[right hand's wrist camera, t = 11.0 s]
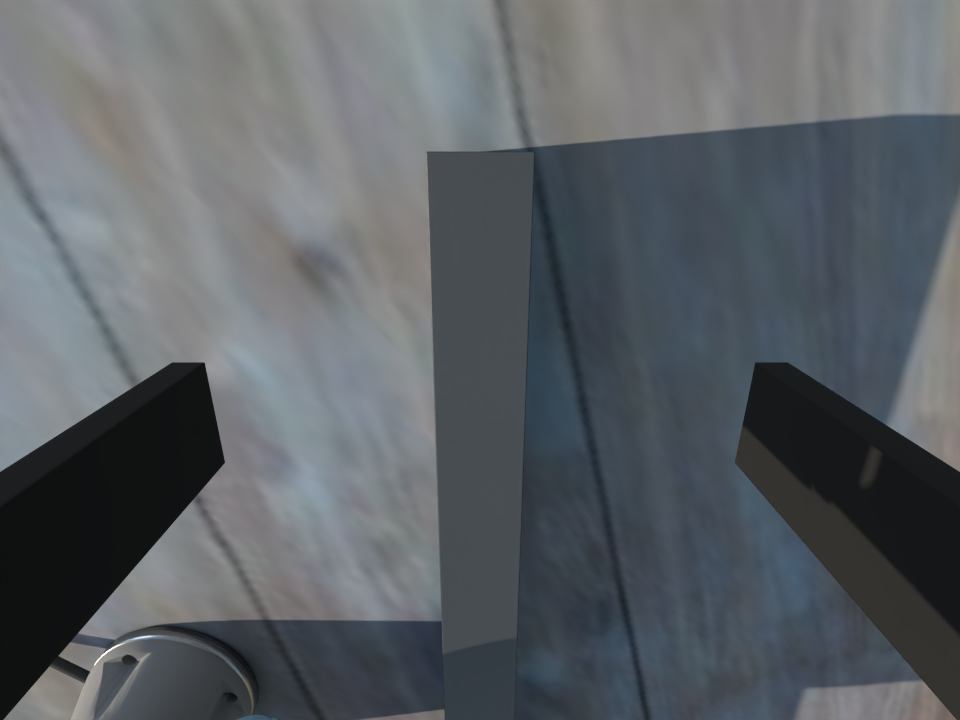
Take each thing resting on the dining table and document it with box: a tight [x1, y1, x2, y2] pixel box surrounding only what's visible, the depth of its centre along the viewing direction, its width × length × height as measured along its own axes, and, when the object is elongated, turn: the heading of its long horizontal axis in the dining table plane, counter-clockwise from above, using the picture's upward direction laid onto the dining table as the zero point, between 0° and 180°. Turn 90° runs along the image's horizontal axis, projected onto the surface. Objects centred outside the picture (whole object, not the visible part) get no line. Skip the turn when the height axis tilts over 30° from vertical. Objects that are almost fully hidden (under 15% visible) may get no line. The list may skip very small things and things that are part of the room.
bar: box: [426, 152, 535, 720], centre depth 43 cm, size 77×5×9 cm, turn 0°
